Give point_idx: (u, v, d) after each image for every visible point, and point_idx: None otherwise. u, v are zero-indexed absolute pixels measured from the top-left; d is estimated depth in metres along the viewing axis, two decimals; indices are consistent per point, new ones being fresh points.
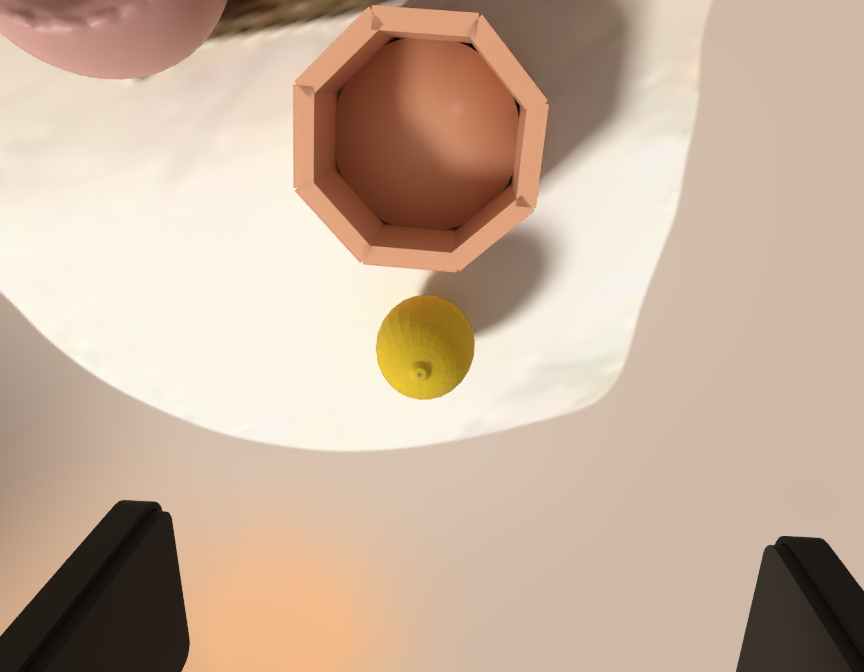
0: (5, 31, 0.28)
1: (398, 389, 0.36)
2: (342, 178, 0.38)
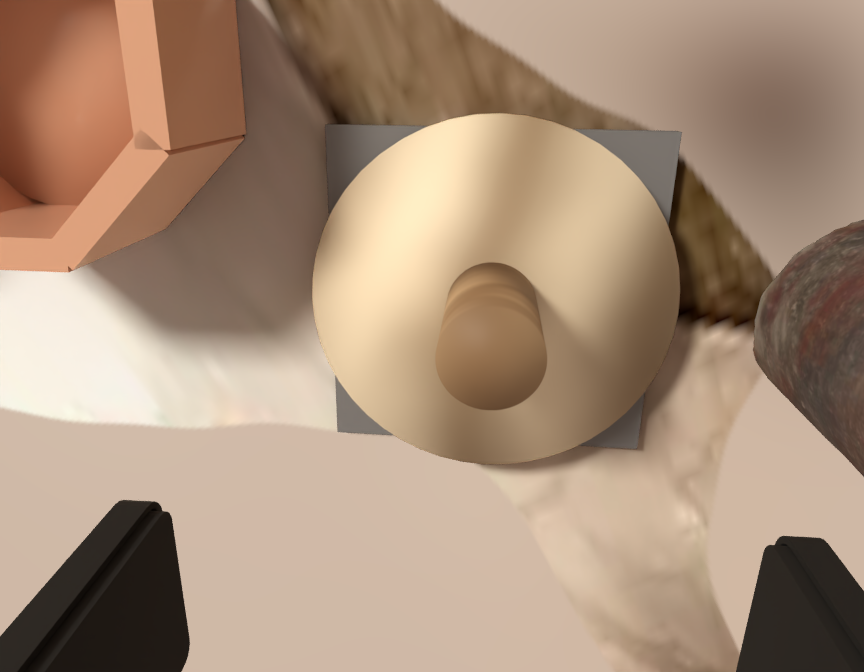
0: None
1: None
2: None
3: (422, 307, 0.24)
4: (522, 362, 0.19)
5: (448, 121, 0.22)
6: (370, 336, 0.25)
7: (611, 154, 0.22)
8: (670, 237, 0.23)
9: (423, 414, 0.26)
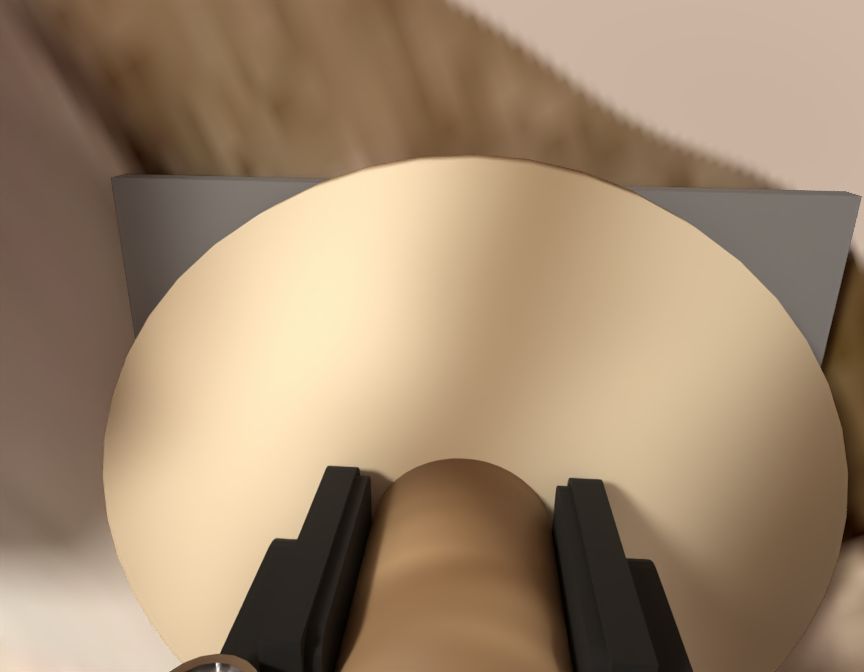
0: None
1: None
2: None
3: None
4: None
5: (359, 176, 0.10)
6: (227, 583, 0.13)
7: (719, 249, 0.10)
8: (834, 417, 0.11)
9: None
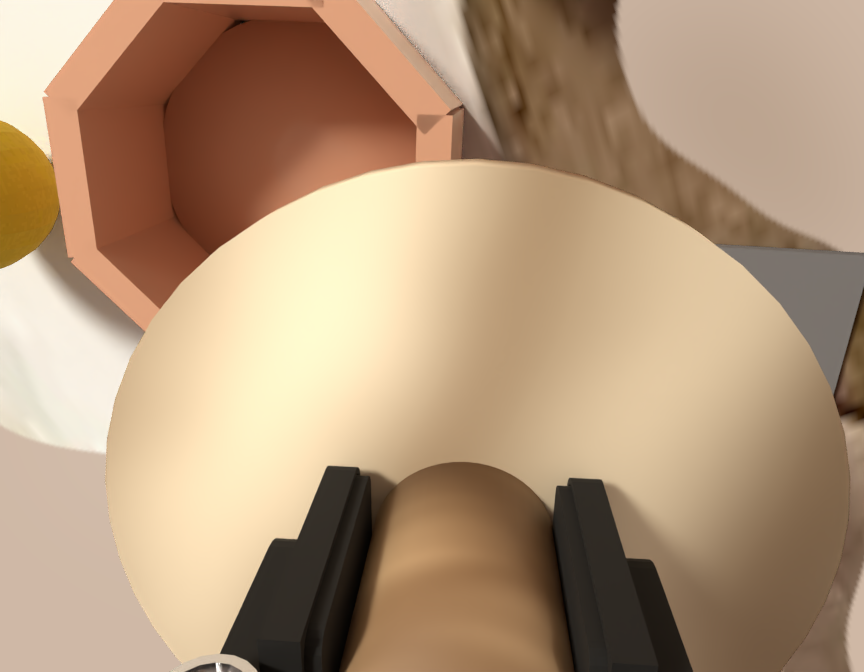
0: None
1: None
2: (221, 32, 0.23)
3: None
4: None
5: (362, 180, 0.10)
6: (229, 586, 0.13)
7: (721, 253, 0.10)
8: (837, 420, 0.11)
9: None
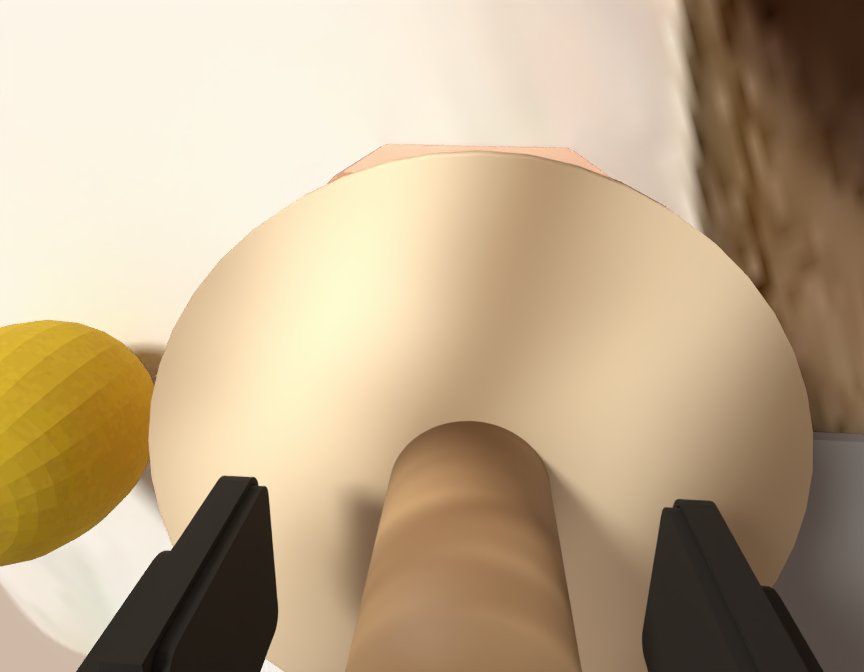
0: None
1: None
2: None
3: (345, 493, 0.14)
4: None
5: (381, 169, 0.11)
6: None
7: (696, 233, 0.11)
8: (800, 382, 0.12)
9: None
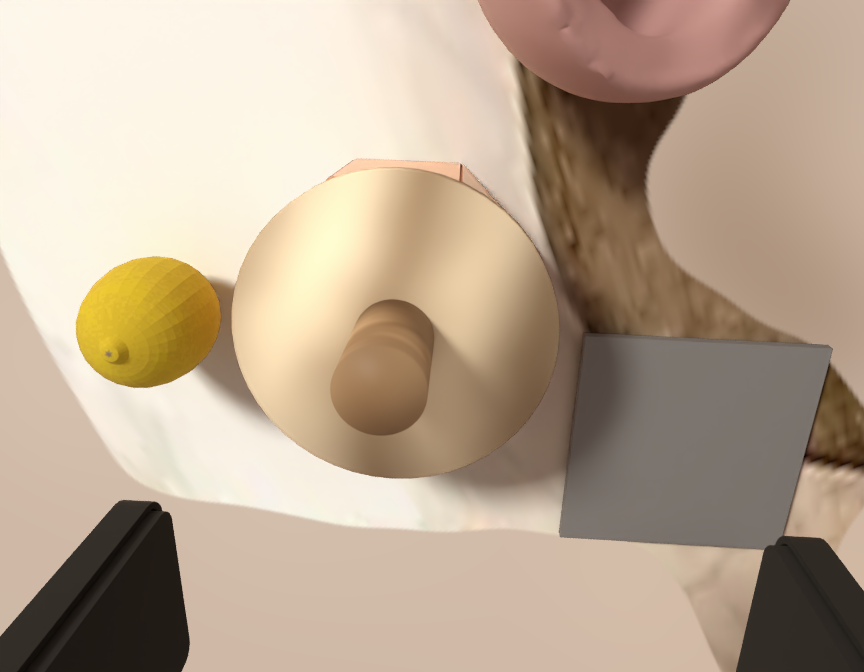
0: None
1: (82, 314, 0.27)
2: None
3: (331, 338, 0.27)
4: (406, 394, 0.22)
5: (350, 175, 0.24)
6: (286, 363, 0.27)
7: (495, 207, 0.25)
8: (549, 279, 0.25)
9: (335, 433, 0.28)
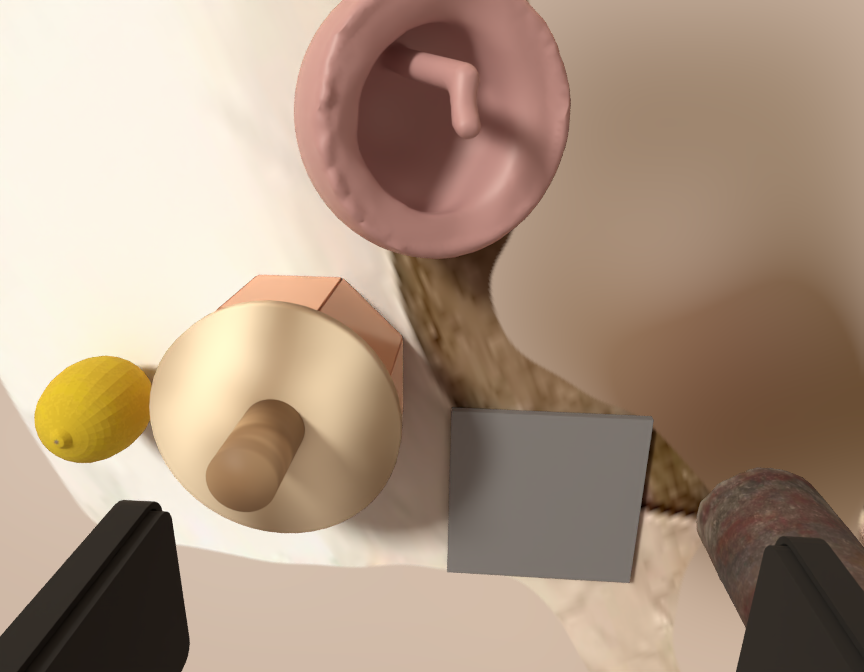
0: (316, 56, 0.26)
1: (38, 409, 0.35)
2: None
3: (226, 428, 0.34)
4: (261, 482, 0.30)
5: (230, 310, 0.32)
6: (193, 446, 0.35)
7: (340, 332, 0.32)
8: (387, 384, 0.33)
9: None
